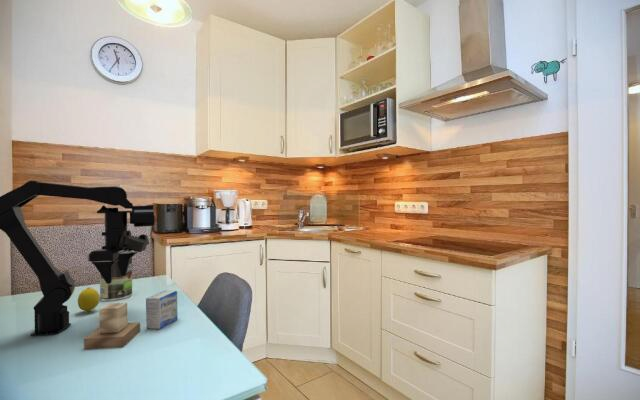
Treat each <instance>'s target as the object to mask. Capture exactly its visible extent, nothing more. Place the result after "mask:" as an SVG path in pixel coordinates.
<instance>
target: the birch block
mask: <svg viewBox="0 0 640 400" xmlns="http://www.w3.org/2000/svg"><path fill="white" fill-rule="evenodd" d="M98 323H99V324H98V325H99V327H98V328H99V333H112V332H119V331H120V330H122V329H123V328H125V327H126V326H127V325H128V323H129V322H128V302H116V303H114V302H113V303H108V304H106V305H105V306H102V307H101V308H99V309H98Z"/></svg>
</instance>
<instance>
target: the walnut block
mask: <svg viewBox="0 0 640 400" xmlns="http://www.w3.org/2000/svg"><path fill="white" fill-rule="evenodd" d="M140 332H141V322H140V321H139V322H128V325H127V326H126V327H125V328H123V329H122V330H120V331H119V332H112V333H99V327H98V328H97V329H96V330H94V331H93V332H91V333H90V334H89V335H87V336H86V337H85V338H83V350H91V349H107V348H124V347H125V346H127V344H129V342H130V341H132V339H134V338H135V337H136V336H137V335H138V334H139V333H140Z"/></svg>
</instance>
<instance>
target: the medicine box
mask: <svg viewBox="0 0 640 400" xmlns="http://www.w3.org/2000/svg"><path fill="white" fill-rule="evenodd" d="M177 319H178V291H177V290H173V289H172V290H171V289H170V290H169V289H168V290H167V289H166V290H163V291H161V292H159V293H158V292H157V293H156V294H154V295H150V296H149V297H146V298H145V322H146V324H145V325H146V329H150V330H151V329H152V330H153V329H154V330H155V329H156V330H161V329H163V328H164V327H166V326H168V325H169V324H171V323H173V322H175V321H177Z"/></svg>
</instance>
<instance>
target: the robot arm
mask: <svg viewBox="0 0 640 400" xmlns="http://www.w3.org/2000/svg"><path fill="white" fill-rule="evenodd" d="M39 196H42V197H43V196H46V197H57V198H67V199H77V200H78V199H79V200H89V201H93V202H97V203H101V204H105V205H106V204H107V205H110V206H114V207H106V206H105V205H102V206H101V207H100V208H99V209H98V210H97V211H96V214H104V231H103V232H101V236H103V237H104V245H103V246H101V248H100V249H99V248H98V249H95V250H92V251H91V252H89V253H88V256H87V257H88V262H89V263H91V264H92V265H94V266H95V268H96V269H97V271H98V272H99V275H100V274H101V275H102V277H103V279H104V280H105V282H106V283H107V284H110V283H111V282H112V276H113V268H114V264H115V263H116V262H117V264H118V267H119V270H120V273H121V275H122V276H126V274H127V270H128V267H129V264H130V261H131V258H132V259H133V257H134V256H135V255H137V254H138V253H142V252H143V251H144V252H145V251H146V249H147V246H148V245H149V244H150V240H149V238H148V235H147V234H140V235H135V236H134V235H132V232H131V230H130V229H128V214H129V225H133V227H134V228H141V227H143V228H144V227H155V225H156V223H155V221H156V217H155V216H156V215H155V212H154V211H155V210H154V205H153V204H148V205H147V204H146V205H133V202H131V201H130V200H129V199H128V198H127V197H128V194H127V191H126V190H125V189H124V188H122V186H121V187H120V186H117V185H114V186H113V185H111V186H110V185H109V186H93V187H92V186H91V187H89V186H81V185H79V186H78V185H72V184H71V185H70V184H61V183H52V182H51V183H50V182H41V181H38V180H28V181H26V182H25V183H24V184H22V185H21V186H18V187H17V188H16V187H15V188H14V189H12V190H10V191H8V192H6V193H4V194H3V195H1V196H0V230H1V231H2V232H3V233H4V234H5V235H7V237H8V238H9V240H10V241H11V243H12V244H13V246H14V248H16V249H17V251H18V252H19V253H20V255H21V256H22V258H23V259H24V260H25V261H26V264H27V265H28V266H29V268H30V269H31V270H32V272H33V273H34V274H35V275H36V277H37V280H38V282H39V283H38V284H39V287H40V291H41V293H42V295H43V296H42V297H41V298H40V299H39V300H38V301H37V303H36V304H35V305H34V306H33V312H34V331H33V332H31V333H29V336H32V337H33V336H34V337H35V336H45V335H46V336H48V335H58V334H59V333H60V332H63V331H64V330H66V329H67V328H68V327H70V326H72V323H70V311H69V310H68V305H64V304H65V303H66V302H68V301H69V300H70V298H71V297H72V295H73V293H74V292H75V289H76V286H75V283H76V279H74V278H73V277H72V276H71V274H70V272H69V270H67V269H65V271H63V272H62V271H61V270H59V269H57V268H56V266H55V265H54V263H53V262H52V260H50V258H49V256H48V255H47V254H46V252H45V251H44V249H43V248H42V247H41V245H40V244H39V242H38V241H37V239H36V238H35V237H34V236H33V234H32V232H31V231H30V230H29V227H27V225H26V221H25V217H24V213H23V211H22V210H21V209H22V208H23V207H24V206H25V205H27V204H29V203H30V202H31V201H33V200H34V199H36V198H37V197H39ZM115 206H120V207H121V208H124V209H128V210H119V207H115ZM129 209H131V210H129ZM115 259H116V260H115Z"/></svg>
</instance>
